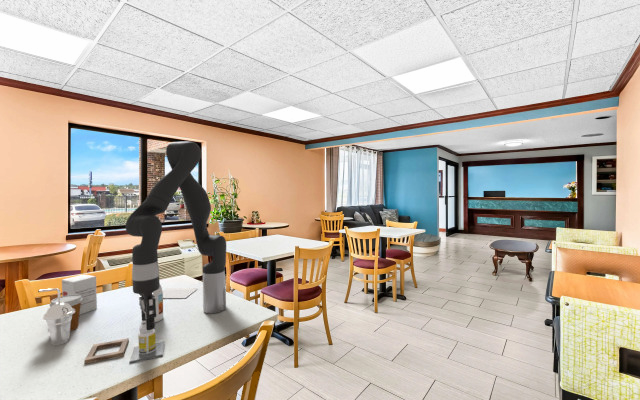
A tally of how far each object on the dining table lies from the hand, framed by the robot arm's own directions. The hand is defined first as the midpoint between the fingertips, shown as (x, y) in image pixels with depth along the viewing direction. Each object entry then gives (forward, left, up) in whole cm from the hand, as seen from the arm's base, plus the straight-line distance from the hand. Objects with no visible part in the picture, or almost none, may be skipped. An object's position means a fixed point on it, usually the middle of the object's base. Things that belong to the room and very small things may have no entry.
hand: (148, 324), depth 95 cm
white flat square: (-1, -54, -10) cm, 55 cm away
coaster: (0, 0, -9) cm, 9 cm away
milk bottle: (+1, -27, -9) cm, 28 cm away
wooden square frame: (+12, -6, -9) cm, 16 cm away
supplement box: (+31, -51, -9) cm, 60 cm away
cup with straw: (+29, -21, -9) cm, 37 cm away
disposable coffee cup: (+30, -32, -9) cm, 45 cm away
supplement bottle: (0, 0, -9) cm, 9 cm away
